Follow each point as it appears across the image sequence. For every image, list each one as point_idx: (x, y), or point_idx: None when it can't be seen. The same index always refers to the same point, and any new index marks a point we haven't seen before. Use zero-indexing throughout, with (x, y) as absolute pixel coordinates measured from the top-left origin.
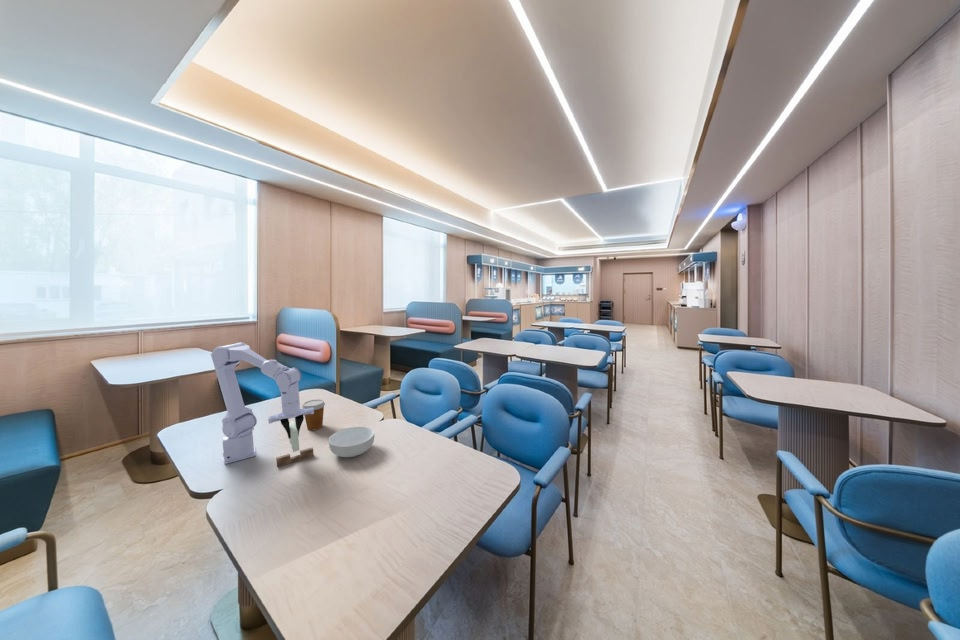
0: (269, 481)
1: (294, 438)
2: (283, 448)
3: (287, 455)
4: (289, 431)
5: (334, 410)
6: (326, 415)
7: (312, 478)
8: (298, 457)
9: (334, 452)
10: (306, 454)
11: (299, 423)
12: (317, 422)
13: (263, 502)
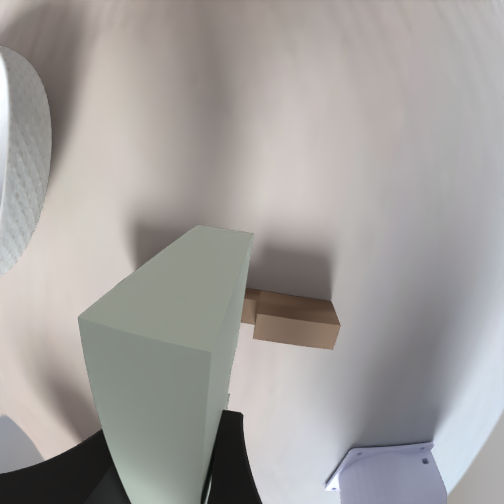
0: (405, 170)
1: (195, 280)
2: (245, 441)
3: (271, 325)
4: (217, 472)
5: None
6: None
7: (218, 24)
8: None
9: (43, 104)
10: None
11: (45, 486)
12: None
13: (440, 24)
